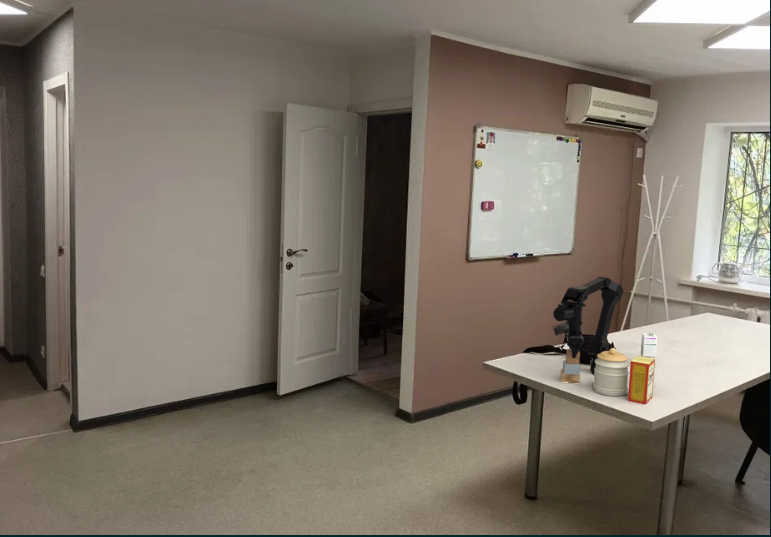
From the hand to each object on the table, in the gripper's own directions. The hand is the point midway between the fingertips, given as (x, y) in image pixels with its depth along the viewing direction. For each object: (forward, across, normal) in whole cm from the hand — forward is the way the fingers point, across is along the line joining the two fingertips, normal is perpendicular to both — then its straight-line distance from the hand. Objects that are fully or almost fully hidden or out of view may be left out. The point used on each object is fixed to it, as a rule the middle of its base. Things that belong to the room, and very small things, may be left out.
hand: (572, 354), depth 263 cm
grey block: (+7, 0, 0) cm, 7 cm away
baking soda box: (+11, +17, +24) cm, 32 cm away
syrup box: (+11, -29, +36) cm, 48 cm away
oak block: (+11, 0, 0) cm, 11 cm away
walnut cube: (+3, 0, 0) cm, 3 cm away
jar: (+11, +10, +14) cm, 21 cm away
